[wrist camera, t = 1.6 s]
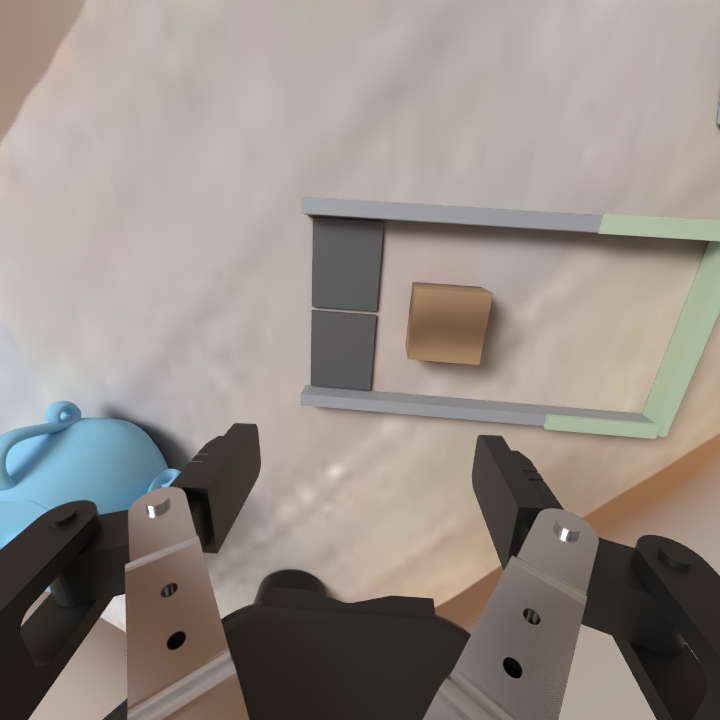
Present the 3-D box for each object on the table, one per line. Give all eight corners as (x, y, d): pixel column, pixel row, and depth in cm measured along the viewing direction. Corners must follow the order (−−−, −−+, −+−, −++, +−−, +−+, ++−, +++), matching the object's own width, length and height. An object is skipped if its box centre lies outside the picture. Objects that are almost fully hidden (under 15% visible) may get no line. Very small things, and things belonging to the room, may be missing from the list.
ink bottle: (271, 619, 47) (236, 739, 36) (247, 573, 44) (200, 687, 33) (338, 609, 46) (323, 732, 34) (317, 561, 43) (293, 677, 32)
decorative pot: (30, 459, 40) (-133, 562, 28) (94, 372, 36) (-67, 448, 23) (145, 538, 44) (45, 663, 31) (217, 467, 39) (136, 580, 26)
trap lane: (306, 197, 29) (300, 194, 27) (731, 224, 27) (763, 223, 25) (305, 396, 35) (300, 407, 33) (650, 426, 34) (669, 440, 31)
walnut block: (412, 281, 31) (416, 288, 27) (479, 286, 30) (493, 293, 27) (405, 345, 33) (407, 359, 29) (468, 350, 33) (479, 365, 29)
